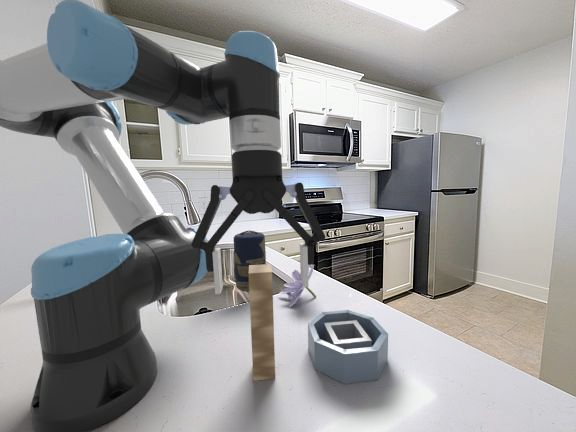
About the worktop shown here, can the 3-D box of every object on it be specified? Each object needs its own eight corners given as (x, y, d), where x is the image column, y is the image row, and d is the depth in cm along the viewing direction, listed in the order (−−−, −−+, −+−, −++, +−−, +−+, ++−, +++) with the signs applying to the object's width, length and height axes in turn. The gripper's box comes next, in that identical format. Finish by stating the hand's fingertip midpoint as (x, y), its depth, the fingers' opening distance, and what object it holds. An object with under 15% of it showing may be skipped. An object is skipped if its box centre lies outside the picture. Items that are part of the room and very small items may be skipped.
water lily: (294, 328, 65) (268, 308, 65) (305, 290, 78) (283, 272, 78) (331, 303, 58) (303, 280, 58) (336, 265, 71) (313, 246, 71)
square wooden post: (253, 380, 39) (248, 273, 36) (253, 364, 43) (249, 265, 40) (275, 378, 40) (272, 271, 37) (273, 362, 43) (270, 263, 40)
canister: (261, 295, 71) (259, 233, 69) (230, 293, 72) (227, 233, 70) (270, 282, 80) (268, 228, 78) (242, 281, 82) (240, 227, 80)
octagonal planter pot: (320, 387, 38) (320, 356, 37) (304, 336, 50) (304, 313, 50) (400, 377, 39) (400, 348, 39) (364, 330, 52) (365, 308, 51)
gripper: (159, 148, 32) (173, 304, 34) (345, 146, 35) (346, 290, 37) (178, 156, 39) (188, 284, 41) (329, 154, 42) (331, 273, 44)
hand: (262, 287), depth 39 cm, fingers open, 13 cm apart
